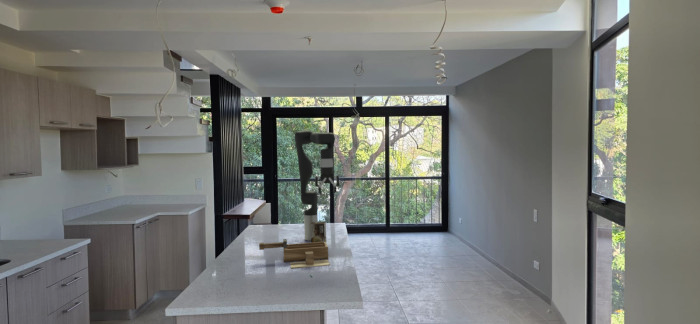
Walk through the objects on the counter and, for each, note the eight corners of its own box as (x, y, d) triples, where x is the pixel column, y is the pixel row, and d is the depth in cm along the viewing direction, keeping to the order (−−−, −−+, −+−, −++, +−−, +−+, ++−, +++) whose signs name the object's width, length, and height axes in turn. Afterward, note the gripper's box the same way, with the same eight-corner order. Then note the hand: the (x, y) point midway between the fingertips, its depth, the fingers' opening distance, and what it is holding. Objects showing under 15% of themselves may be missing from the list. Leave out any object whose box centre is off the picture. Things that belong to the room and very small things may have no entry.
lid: (289, 264, 215) (289, 252, 215) (327, 261, 219) (327, 248, 219) (290, 269, 206) (290, 256, 206) (329, 266, 210) (329, 253, 210)
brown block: (259, 248, 222) (259, 242, 222) (284, 246, 224) (284, 241, 224) (259, 249, 219) (259, 244, 219) (284, 248, 221) (284, 242, 221)
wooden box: (283, 256, 229) (283, 237, 228) (325, 253, 233) (325, 235, 233) (283, 262, 217) (283, 243, 217) (328, 258, 221) (327, 239, 221)
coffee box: (326, 246, 248) (326, 221, 247) (325, 249, 242) (324, 223, 241) (312, 246, 249) (312, 221, 248) (310, 249, 243) (310, 223, 242)
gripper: (315, 167, 226) (316, 194, 227) (339, 166, 228) (340, 193, 229) (314, 166, 233) (315, 193, 234) (337, 165, 236) (338, 192, 237)
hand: (327, 193), depth 232 cm, fingers open, 8 cm apart
